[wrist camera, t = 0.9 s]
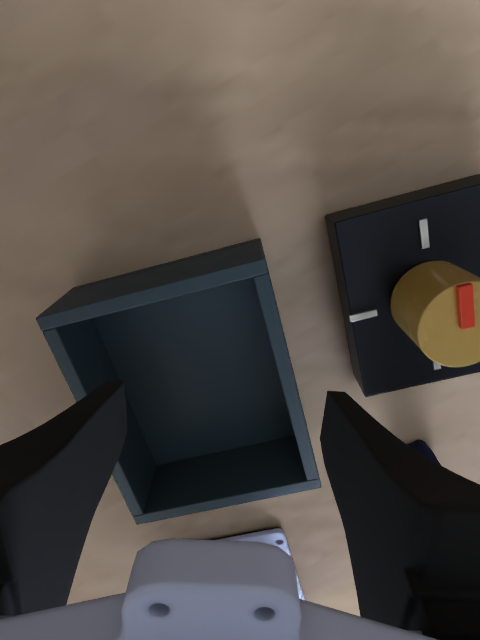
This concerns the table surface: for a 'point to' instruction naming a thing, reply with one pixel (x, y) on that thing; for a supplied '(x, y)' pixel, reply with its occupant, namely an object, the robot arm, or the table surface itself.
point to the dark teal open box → (191, 381)
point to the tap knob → (440, 312)
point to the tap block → (399, 275)
